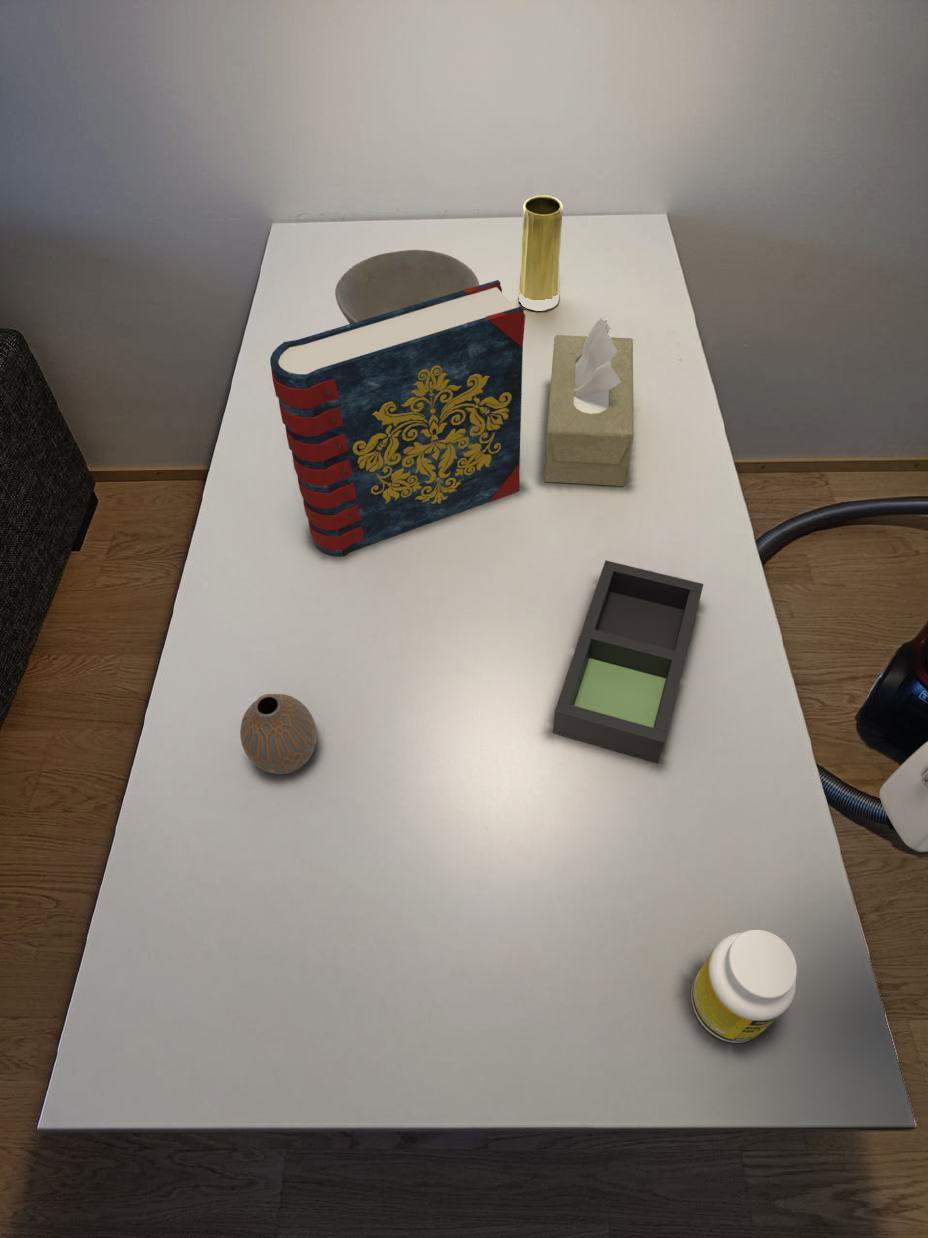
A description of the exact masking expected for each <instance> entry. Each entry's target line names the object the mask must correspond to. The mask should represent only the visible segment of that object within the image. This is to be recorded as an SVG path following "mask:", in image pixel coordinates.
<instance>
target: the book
mask: <svg viewBox="0 0 928 1238" xmlns="http://www.w3.org/2000/svg"><path fill="white" fill-rule="evenodd" d="M500 281H501V280H499V279H496V280H493V281H489V282H485V283H483V284H479V286H475V287H471V288H467V289H464V290H462V291H459V292H456V293H452V294H449V295H446V296H442V297H439V298H435V299H432V300H429V301H425V302H422V303H419V304H415V305H412V306H409V307H405V308H402V309H399V310H395V311H392V312H389V313H385V314H382V315H379V316H375V317H372V318H369V319H365V320H362V321H358V322H355V323H352V324H350V323H349V324H345V325H342V326H338V327H335V328H331V329H329V330H325V331H322V332H318V333H315V334H313V335H308V336H305V337H302V338H298V339H294V340H293V339H292V340H288V341H283V342H282V343H281V344H279V345H278V346H277V347H276V348H275V349H274V351H272V353H271V356H270V359H269V361H270V370H271V378H272V383H273V389H274V393H275V396H276V397H277V398H278V405H279V411H280V412H279V413H280V416H281V422H282V424H283V425H284V426H285V427H284V429H285V435H286V440H287V444H288V449H289V450H290V451H291V456H292V462H293V468H294V469H293V470H294V471H295V473H296V476H297V477H296V478H297V484H298V490H299V492H300V495H301V497H302V501H303V509H304V512H305V516H306V518H307V520H308V528H309V533H310V536H311V539H312V541H313V542H314V544H315V546H316V548H317V549H318V550H319V551H321V553H324V554H326V555H329V556H333V557H345V556H346V555H348V554H349V553H352V552H353V551H357V550H359V549H361V548H364V547H367V546H370V545H372V544H376V543H378V542H381V541H383V540H386V539H390V538H392V537H394V536H397V535H400V534H403V533H406V532H409V531H412V530H413V529H417V528H419V527H423V526H425V525H428V524H431V523H433V522H436V521H439V520H442V519H445V518H447V517H450V516H452V515H456V514H458V513H460V512H463V511H466V510H469V509H472V508H476V507H477V506H480V505H483V504H486V503H488V502H490V503H491V502H492V501H495V500H498V499H501V498H504V497H506V496H509V495H512V494H514V493H517V492H519V491H520V470H521V469H520V468H521V431H522V428H521V427H522V394H523V390H522V389H523V356H524V355H523V353H524V349H523V348H524V336H525V324H526V314H525V308H523V307H522V306H521V305H520V306H517V307H515V306H514V305H513V304H512V302H510V300H509V299H508V298H507V296H505V294H504V293H503V288H502V286H501V282H500Z"/></svg>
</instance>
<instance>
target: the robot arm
mask: <svg viewBox="0 0 928 1238" xmlns="http://www.w3.org/2000/svg"><path fill="white" fill-rule="evenodd" d="M879 799H880V801H881V805H882V807H883V810H884V811H885V813H886V815H887V818H888V819H889V821H890V823H891V824H892V826H893V828H894V830H895V831H896V833H897V834H898V836H899V837H900V839H901V840H902V842H904V844H905V845H906V846H907V847H909V849H912V850H914V851H915V852H919V853H924V852H925V853H926V852H928V740H927V741H926V742H925V743H923V744H922V745H921V746H920V747H919V748H918V749H917V750H915V752H913V753H912V754H911V755H910V756H909V757H908V758H907V759H906V760H905V761H904V762H903V763H902V764H901V765H900V766H899V767H897V769H896V770H895V771H894V772H893V773H892V774H891V775H890V776H889V777H888V778H887V779H886V780H885V782H883V784H882V786H881V787H880V789H879Z"/></svg>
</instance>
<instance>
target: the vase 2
mask: <svg viewBox="0 0 928 1238" xmlns="http://www.w3.org/2000/svg"><path fill="white" fill-rule="evenodd" d="M563 208H564V206H563V204H562V201H560V200H559V199H558V198H556V197H553V196H551V195H536V196H532V197H530V198H527V200H525V201H524V203H523V206H522V234H521V248H520V249H521V250H520V267H519V282H518V283H519V284H518V295H517V298H518V297H519V293H521V294H522V295H523V296H524V297H525V298H529V299H531V300H545V299H552V298H553V296H556V295H558V292H559V295H560V253H561V242H562V241H561V240H562V227H563V212H564V209H563Z"/></svg>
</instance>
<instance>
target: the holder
mask: <svg viewBox="0 0 928 1238" xmlns="http://www.w3.org/2000/svg"><path fill="white" fill-rule="evenodd" d="M603 563H604V564H603V566H602V569H601V572H600V575H599V578H598V581H597V584H596V587H595V590H594V593H593V596H592V599H591V602H590V605H589V607H588V610H587V613H586V617H585V619H584V623H583V626H582V629H581V632H580V635H579V637H578V640H577V643H576V646H575V650H574V653H573V655H572V657H571V658H572V659H571V661H570V664H569V667H568V671H567V673H566V675H565V679H564V682H563V686H562V687H561V691H560V694H559V697H558V700H557V703H556V706H555V709H554V714H553V724H552V725H553V726H552V734H555V735H560V736H563V737H566V738H569V739H572V740H575V741H580V742H582V743H586V744H590V745H594V746H596V747H600V748H603V749H607V750H611V751H614V752H617V753H621V754H624V755H628V756H632V757H635V758H638V759H641V760H646V761H649V762H651V763H654V764H655V763H656V764H659V762H660V759H661V755H662V752H663V750H664V747H665V743H666V739H667V735H668V731H669V727H670V722H671V719H672V716H673V715H672V714H673V711H674V707H675V703H676V699H677V695H678V691H679V686H680V682H681V678H682V674H683V670H684V666H685V661H686V657H687V653H688V650H689V646H690V641H691V638H692V633H693V628H694V625H695V620H696V616H697V614H698V608H699V605H700V600H701V596H702V593H703V589H704V583H701V582H698V581H693V580H689V579H684V578H681V577H677V576H672V575H668V574H664V573H660V572H657V571H656V572H655V571H652V570H647V569H643V568H640V567H639V568H638V567H636V566H631V565H628V564H627V565H626V564H622V563H618V562H615V561H610V560H604V562H603Z"/></svg>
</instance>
